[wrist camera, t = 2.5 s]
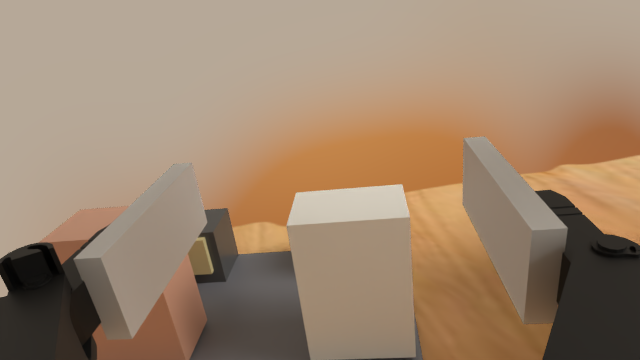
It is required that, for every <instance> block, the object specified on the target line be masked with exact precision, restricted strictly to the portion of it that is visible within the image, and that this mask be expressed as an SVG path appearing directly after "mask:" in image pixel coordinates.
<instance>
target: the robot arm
mask: <svg viewBox="0 0 640 360" xmlns="http://www.w3.org/2000/svg"><path fill="white" fill-rule="evenodd" d="M463 206H464V208H465V210H466V212H467V214H468V216H469V218H470V220H471V222H472V224H473V226H474V228H475V230H476V232H477V233H478V235H479V237H480V239H481V241H482V243H483V245H484V247H485V249H486V251H487V253H488V255H489V257H490V259H491V261H492V263H493V265H494V267H495V269H496V271H497V273H498V275H499V277H500V279H501V281H502V283H503V285H504V287H505V289H506V291H507V293H508V295H509V297H510V299H511V300H512V302H513V304H514V306H515V308H516V310H517V312H518V314H519V316H520V318H521V320H522V322H523V324H543V323H553V326H552V329H551V333H550V336H549V339H548V343H547V346H546V350H545V353H544V357H543V360H640V246H639V245H638V244H637V243H635V242H632V241H630V240H628V239H626V238H622V237H618V236H615V235H607V234H603V233H602V232H601V231H600V230H599V229H598V228H597V227H596V226H595V225H594V224H593V223H592V222H591V221H590V220H589V219H588V218H587V217H586V216H585V215H582V212H581V211H580V210H579V209H578V208H575V205H574V204H573V203H571V202H570V201H569V200H568V199H567V198H566V197H565V196H563V195H560V194H558V193H556V192H554V191H552V190H543V191H534V190H533V189H532V188H531V187H530V186H529V185H528V184H527V182H526V181H525V180H524V179H523V178H522V177H521V176H520V175H519V174H518V172H517V171H516V170H515V169H514V168H513V167H512V166H511V165H510V164H509V163H508V161H507V160H506V159H505V158H504V157H503V156H502V155H501V154H500V152H499V151H498V150H497V149H496V148H495V147H494V146H493V145H492V144H491V143H490V141H489V140H488V139H487V138H486V137H473V138H464V146H463ZM206 224H207V218H206V215H205V211H204V207H203V203H202V199H201V195H200V192H199V188H198V184H197V180H196V176H195V173H194V169H193V165H192V163H182V164H173V166H171V168H169V169H168V170H167V171H166V172H165V173H164V174H163V175H162V176H161V177H160V178H159V179H158V180H157V181H156V182H155V183H153V184H152V185H151V186H150V187H149V188H148V189H147V190H146V191H145V192H144V193H143V194H142V195H141V196H140V197H139V198H138V199H136V200H135V201H134V202H133V203H132V204H131V205H130V206H129V207H128V208H127V209H126V210H125V211H124V212H123V213H122V214H121V215H120V216H118V217H117V218H116V219H115V220H114V221H113V222H112V223H111V224H109V225H108V226H106V227H104V228H103V229H101V230H99V231H97V232H96V233H95V234H94V235H93V236H92V237H91V238H90V239H89V240H88V242H86V243H85V244H83V245H82V246H81V247H80V249H78V250H77V251H76V252H75V253H74V254H73V255H72V256H70V257H69V258H68V259H67V260H66V261H65V262H64V263H63V264H62V265H61V262H60V260H59V258H58V256H57V253H56V251H55V249H54V246H53V244H51V243H48V242H41V243H35V244H30V245H27V246H24V247H21V248H19V249H16V250H14V251H12V252H10V253H8V254H7V255H5V256H4V257H3V258H1V259H0V275H1V277H2V279H3V281H4V283H5V285H6V287H7V289H8V291H9V292H8V295H7V296H5V297H1V298H0V360H97V345H96V342H95V340H94V338H93V335H92V334H93V333H94V331H95V330H96V329H97V327H98V326H99V325H100V324H101V326H102V328H103V331H104V333H105V335H106V338H107V340H117V339H133V337H134V336H135V334H136V333H137V331H138V330H139V328H140V327H141V325H142V323H143V322H144V320H145V319H146V317H147V316H148V314H149V313H150V311H151V309H152V308H153V306H154V305H155V303H156V302H157V300H158V299H159V297H160V295H161V294H162V292H163V291H164V289H165V288H166V286H167V285H168V283H169V281H170V280H171V278H172V277H173V275H174V274H175V272H176V271H177V269H178V267H179V266H180V264H181V263H182V261H183V260H184V258H185V257H186V255H187V253H188V252H189V250H190V249H191V247H192V246H193V244H194V243H195V241H196V240H197V238H198V236H199V235H200V233H201V232H202V230H203V229H204V227H205V226H206ZM557 307H558V309H557Z"/></svg>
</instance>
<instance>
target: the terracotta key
mask: <svg viewBox="0 0 640 360" xmlns="http://www.w3.org/2000/svg"><path fill="white" fill-rule="evenodd" d="M128 207H129V206H123V207H109V208H97V209H84V210H80V211H78V212H77V213H75V214H74V215H73V216H72V217H70V218H69V219H68V220H67V221H65V222H64V223H63V224H62V225H60V226H59V227H58V228H56V229H55V230H54V231H53V232H52V233H50V234H49V235H48V236H46V237H45V238H44V239H43V240H41V241H40V242H39V243H41V242H48V243H51V244H53V246H54V249H55V251H56V253H57V256H58V258H59V260H60V262H61V265H62V264H63V263H64V262H65V261H66V260H67V259H68V258H69V257H70V256H72V255H73V254H74V253H75V252H76V251H77V250H78V249H80V247H81V246H82V245H83V244H85V243H86V242H88V240H89V239H90V238H91V237H92V236H93V235H94V234H95V233H96V232H97V231H99V230H101V229H103V228H104V227H106V226H108V225H109V224H111V223H112V222H113V221H114V220H115V219H116V218H117V217H118V216H120V215H121V214H122V213H123V212H124V211H125V210H126V209H127V208H128ZM206 322H207V317H206V314H205V310H204V307H203V303H202V300H201V297H200V293H199V290H198V286H197V283H196V280H195V276H194V273H193V269H192V266H191V263H190V259H189V256H188V253H187V255H186V257H185V258H184V260H183V261H182V263H181V264H180V266H179V267H178V269H177V271H176V272H175V274H174V275H173V277H172V278H171V280H170V281H169V283H168V285H167V286H166V288H165V289H164V291H163V292H162V294H161V295H160V297H159V299H158V300H157V302H156V303H155V305H154V306H153V308H152V309H151V311H150V313H149V314H148V316H147V317H146V319H145V320H144V322H143V323H142V325H141V327H140V328H139V330H138V331H137V333H136V334H135V336H134V337H133V339H117V340H107V338H106V335H105V333H104V331H103V328H102V326H101V324H100V325H99V326H98V327H97V329H96V330H95V331H94V333H93V334H92V335H93V338H94V340H95V342H96V345H97V360H189V359H190V357H191V355H192V353H193V351H194V348H195V346H196V344H197V342H198V340H199V337H200V335H201V333H202V331H203V328H204V326H205V324H206Z"/></svg>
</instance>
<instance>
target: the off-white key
mask: <svg viewBox="0 0 640 360" xmlns="http://www.w3.org/2000/svg"><path fill="white" fill-rule="evenodd" d="M287 231H288V237H289V242H290V248H291V253H292V259H293V265H294V270H295V276H296V281H297V287H298V293H299V298H300V304H301V310H302V315H303V321H304V326H305V332H306V338H307V343H308V349H309V354H310V360H343V359H376V358H409V357H416V346H415V323H414V300H413V277H412V254H411V231H410V215H409V211H408V207H407V203H406V199H405V195H404V191H403V186H402V184H401V185H387V186H376V187H362V188H350V189H337V190H325V191H313V192H312V191H311V192H300V193H296V196H295V199H294V202H293V206H292V209H291V213H290V216H289V219H288V223H287Z"/></svg>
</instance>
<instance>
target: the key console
mask: <svg viewBox="0 0 640 360" xmlns="http://www.w3.org/2000/svg"><path fill="white" fill-rule="evenodd" d="M204 211H205V215H206V218H207V224H206V226H205V227H204V229H203V230H202V232H201V233H200V235H199V236H198V238H197V240H196V241H195V243H194V244H193V246H192V247H191V249H190V250H189V252H188V256H189V259H190V263H191V266H192V269H193V273H194V276H195V280H196V283H197V286H198V290H199V293H200V297H201V300H202V303H203V307H204V310H205V314H206V317H207V322H206V324H205V326H204V328H203V331H202V333H201V335H200V337H199V340H198V342H197V344H196V346H195V348H194V351H193V353H192V355H191V357H190V359H189V360H310V354H309V349H308V343H307V338H306V332H305V326H304V321H303V315H302V310H301V304H300V298H299V293H298V287H297V281H296V276H295V270H294V265H293V259H292V253H291V251H286V252H270V253H254V254H238V251H237V246H236V242H235V238H234V234H233V230H232V225H231V221H230V217H229V213H228V209H227V208H224V209H211V210H204ZM414 323H415V346H416V357H409V358H376V359H343V360H423V358H422V352H421V347H420V341H419V336H418V330H417V325H416V319H415V314H414Z"/></svg>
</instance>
